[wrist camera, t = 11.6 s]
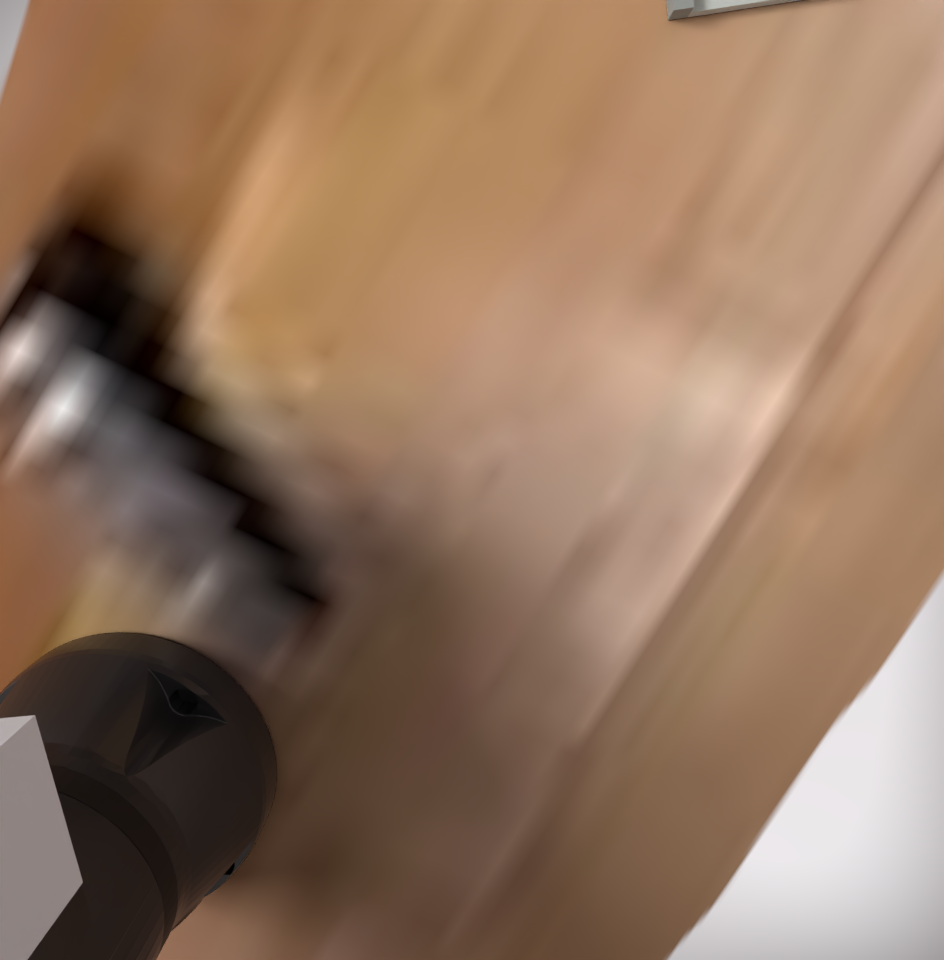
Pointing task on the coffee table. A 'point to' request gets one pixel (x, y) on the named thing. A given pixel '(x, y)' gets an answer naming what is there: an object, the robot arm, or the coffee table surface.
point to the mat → (712, 6)
